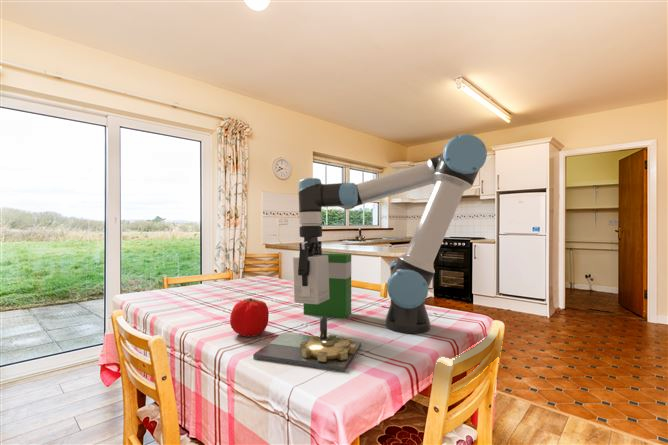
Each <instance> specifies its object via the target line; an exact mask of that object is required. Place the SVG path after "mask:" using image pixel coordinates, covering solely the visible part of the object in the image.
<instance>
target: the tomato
mask: <svg viewBox="0 0 668 445" xmlns="http://www.w3.org/2000/svg"><path fill="white" fill-rule="evenodd" d="M269 314H270V313H269V308H268V305H267V303H266V302H265V301H263V300H259V299H255V298H245V299H243V300H239V302H238V301H237V303H235V304H234V306H233V307H232V310H231V312H230V318H229V323H230V324H229V325H230V326H231V327H230V328H231V329H232V330H233V332H234V333H236V334H238V335H240V336H244V337H247V338H249V337H256V336H258V335H261V334H262V333H264V332H265V330H266V328H267V326H268V323H269V318H270V316H269Z"/></svg>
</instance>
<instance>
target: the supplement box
mask: <svg viewBox="0 0 668 445" xmlns="http://www.w3.org/2000/svg"><path fill="white" fill-rule="evenodd" d="M292 260H293V262H292V263H293V264H292V266H293V296H294V298H293V299H294V303H295V304H304V303H305V304H320V303H322V302H324V301H326V300H328V299H330V298H329V266H328V255H313V256H312V257H308V260H309V261H310V271H309V275H310V285H311V296H310V297H309V296H302V276H299V275H298V266H299V255H298V256H293V257H292Z"/></svg>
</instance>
